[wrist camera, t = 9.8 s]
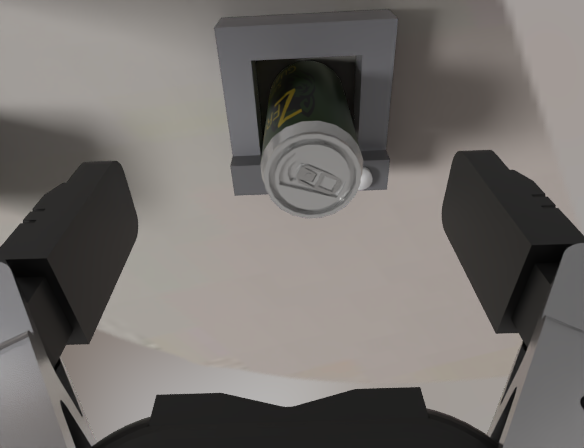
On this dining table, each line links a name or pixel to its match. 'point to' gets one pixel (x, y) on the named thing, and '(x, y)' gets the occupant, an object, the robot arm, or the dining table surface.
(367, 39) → the grey square frame
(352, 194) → the beer can
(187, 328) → the dining table surface
